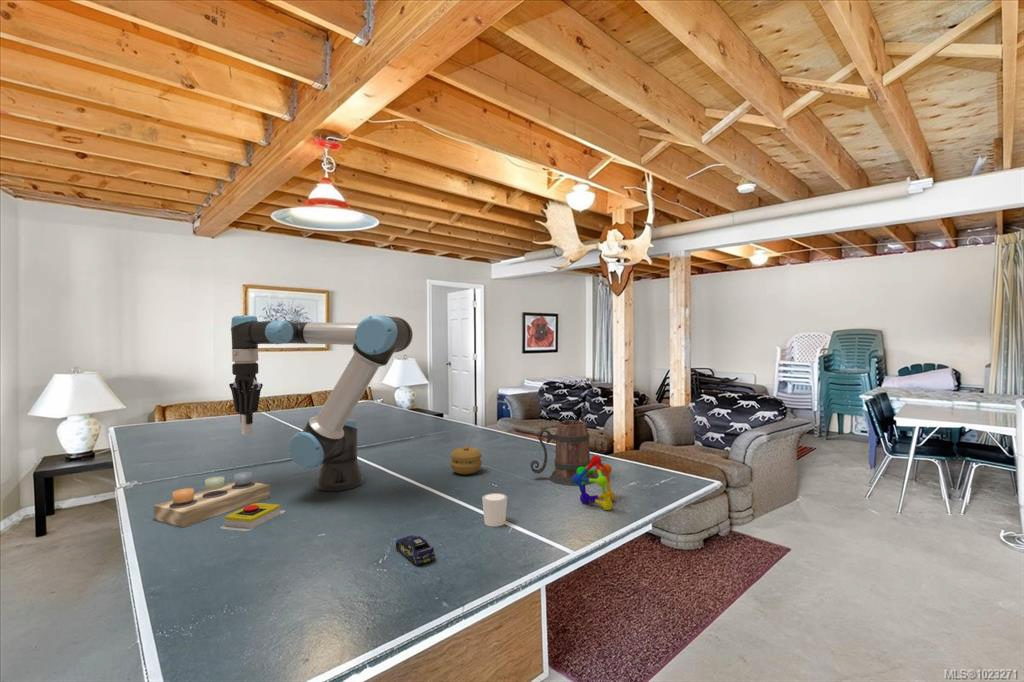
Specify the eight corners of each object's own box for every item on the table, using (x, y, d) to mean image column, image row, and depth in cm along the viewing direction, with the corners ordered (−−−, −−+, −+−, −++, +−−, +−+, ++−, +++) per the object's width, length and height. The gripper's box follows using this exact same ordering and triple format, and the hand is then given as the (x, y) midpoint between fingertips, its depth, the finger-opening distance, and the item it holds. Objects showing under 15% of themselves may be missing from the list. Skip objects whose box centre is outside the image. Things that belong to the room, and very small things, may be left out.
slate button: (255, 480, 151) (255, 472, 151) (240, 485, 146) (240, 477, 146) (245, 479, 153) (245, 471, 153) (230, 483, 149) (230, 475, 149)
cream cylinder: (488, 529, 123) (488, 502, 123) (478, 520, 129) (478, 495, 129) (512, 524, 126) (511, 498, 126) (500, 516, 132) (500, 491, 132)
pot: (455, 468, 182) (454, 442, 182) (484, 468, 181) (484, 442, 181) (446, 476, 171) (446, 449, 171) (478, 477, 169) (478, 450, 169)
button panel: (269, 497, 150) (269, 484, 150) (183, 527, 127) (183, 511, 127) (241, 491, 156) (241, 479, 156) (153, 519, 133) (153, 504, 133)
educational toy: (572, 499, 148) (571, 451, 149) (613, 500, 146) (612, 452, 148) (573, 513, 132) (572, 459, 134) (619, 514, 131) (618, 460, 132)
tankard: (591, 471, 175) (590, 418, 175) (601, 485, 158) (601, 426, 158) (529, 472, 174) (528, 419, 174) (532, 487, 158) (531, 427, 157)
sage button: (228, 486, 143) (228, 477, 143) (211, 490, 138) (211, 482, 138) (218, 484, 145) (217, 475, 145) (201, 488, 140) (201, 480, 140)
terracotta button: (197, 498, 135) (197, 489, 135) (179, 504, 130) (179, 494, 130) (187, 496, 137) (187, 487, 137) (168, 501, 132) (168, 492, 132)
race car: (385, 549, 113) (384, 531, 113) (409, 541, 117) (409, 523, 117) (418, 571, 102) (418, 551, 102) (443, 561, 106) (443, 541, 106)
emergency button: (217, 514, 126) (260, 495, 140) (218, 530, 126) (260, 510, 140) (246, 517, 123) (286, 498, 138) (247, 533, 123) (287, 512, 138)
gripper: (220, 363, 153) (222, 434, 154) (248, 363, 148) (250, 437, 148) (242, 361, 160) (243, 430, 160) (269, 361, 155) (270, 432, 155)
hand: (246, 433), depth 154 cm, fingers closed
